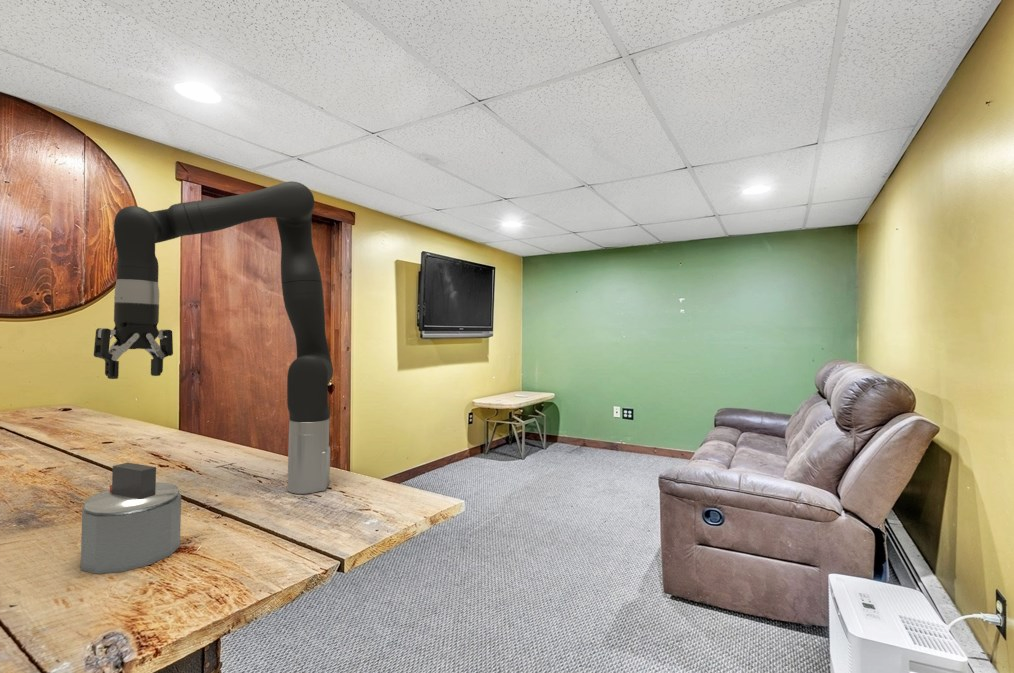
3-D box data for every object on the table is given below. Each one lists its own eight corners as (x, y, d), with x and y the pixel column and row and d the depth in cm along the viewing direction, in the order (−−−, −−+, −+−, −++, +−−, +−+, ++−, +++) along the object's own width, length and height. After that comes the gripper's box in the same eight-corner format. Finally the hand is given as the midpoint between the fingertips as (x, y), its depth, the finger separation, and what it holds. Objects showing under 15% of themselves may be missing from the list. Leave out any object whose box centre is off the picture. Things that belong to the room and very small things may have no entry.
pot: (192, 534, 86) (193, 487, 86) (154, 569, 74) (156, 514, 74) (112, 539, 84) (114, 490, 84) (59, 576, 71) (61, 518, 71)
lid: (194, 494, 83) (195, 461, 83) (118, 520, 71) (119, 481, 71) (146, 485, 87) (146, 454, 86) (65, 508, 75) (66, 472, 75)
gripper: (111, 299, 91) (109, 381, 91) (182, 304, 104) (180, 375, 104) (86, 299, 93) (84, 379, 93) (158, 304, 106) (157, 373, 106)
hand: (135, 377), depth 99 cm, fingers open, 8 cm apart
